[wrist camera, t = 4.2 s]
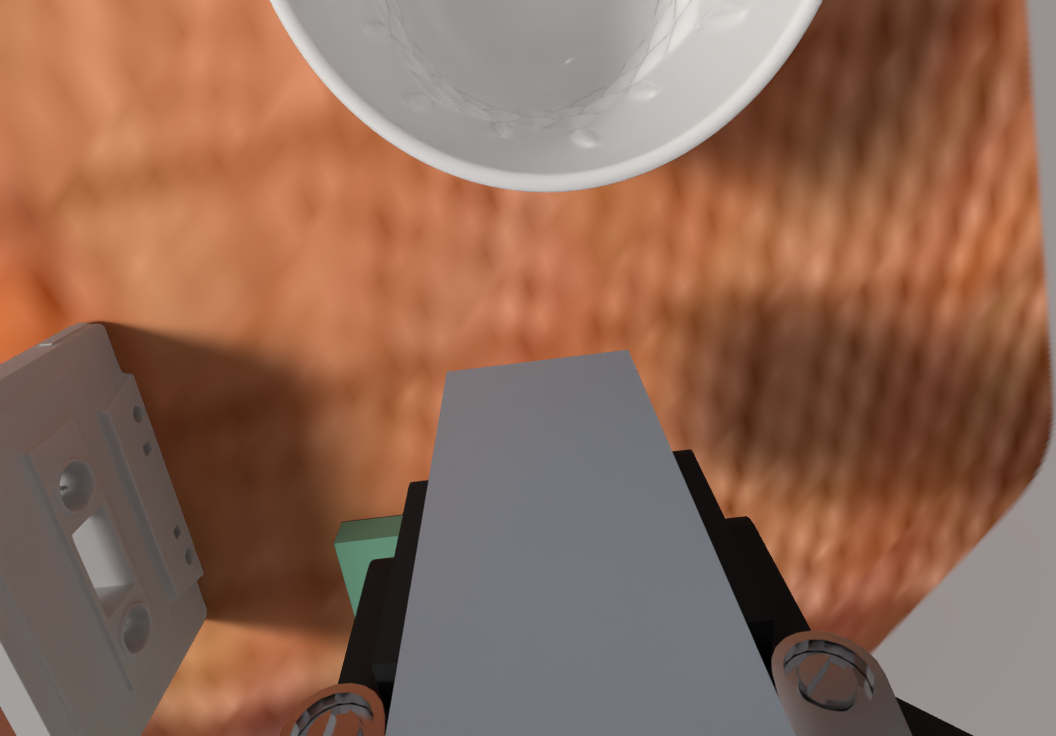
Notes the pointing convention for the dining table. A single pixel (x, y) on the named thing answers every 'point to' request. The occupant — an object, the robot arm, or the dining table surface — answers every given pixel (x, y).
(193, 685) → the dining table surface
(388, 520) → the header board
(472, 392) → the plug
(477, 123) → the white cup
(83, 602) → the cassette
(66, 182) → the dining table surface
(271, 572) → the dining table surface
